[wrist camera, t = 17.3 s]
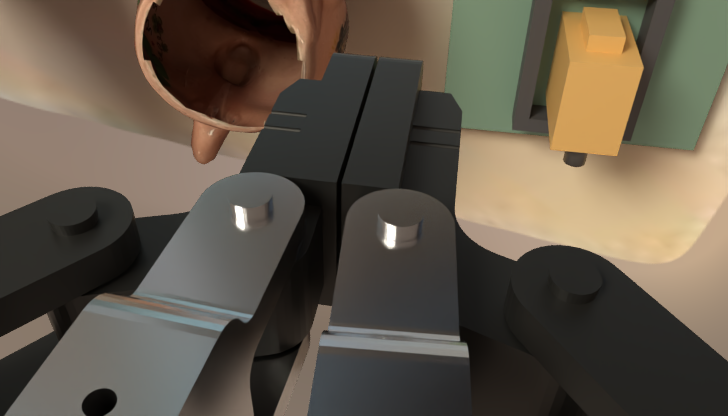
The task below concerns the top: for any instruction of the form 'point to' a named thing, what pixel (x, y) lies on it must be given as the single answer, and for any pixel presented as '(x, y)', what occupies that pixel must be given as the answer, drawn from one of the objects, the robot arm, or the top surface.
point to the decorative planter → (233, 57)
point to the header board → (535, 53)
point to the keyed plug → (591, 83)
